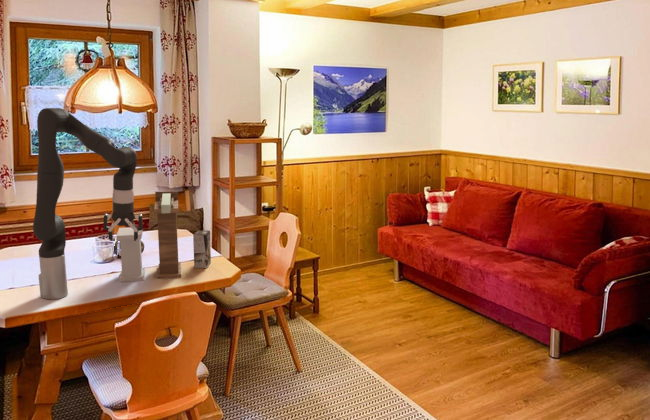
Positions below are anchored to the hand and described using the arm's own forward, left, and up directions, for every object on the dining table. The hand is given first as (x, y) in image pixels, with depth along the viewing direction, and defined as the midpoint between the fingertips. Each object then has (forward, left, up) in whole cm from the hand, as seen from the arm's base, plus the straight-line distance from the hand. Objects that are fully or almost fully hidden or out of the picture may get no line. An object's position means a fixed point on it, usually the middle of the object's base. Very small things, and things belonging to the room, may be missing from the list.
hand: (123, 240), depth 223 cm
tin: (-26, +61, -26) cm, 71 cm away
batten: (+5, +32, +7) cm, 33 cm away
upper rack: (+3, +38, -25) cm, 46 cm away
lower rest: (-11, +29, -25) cm, 40 cm away
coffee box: (+15, +51, -26) cm, 59 cm away
